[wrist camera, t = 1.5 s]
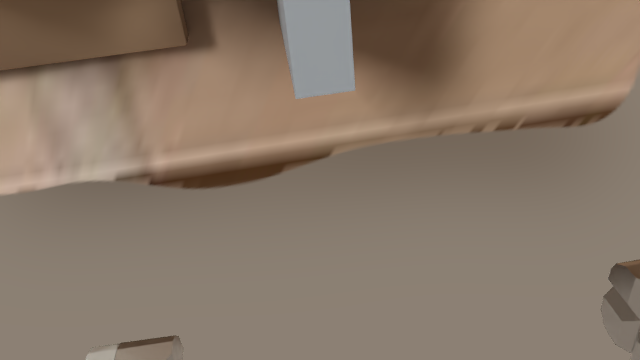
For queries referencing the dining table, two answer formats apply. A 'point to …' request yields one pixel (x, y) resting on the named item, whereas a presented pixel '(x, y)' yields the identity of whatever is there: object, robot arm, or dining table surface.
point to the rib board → (85, 29)
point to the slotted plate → (318, 45)
